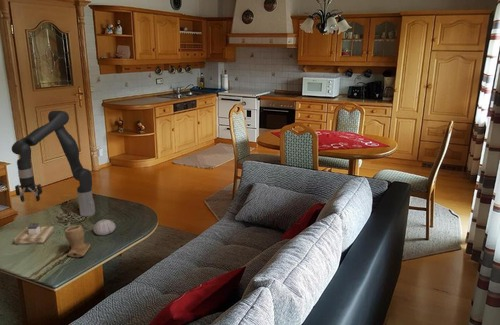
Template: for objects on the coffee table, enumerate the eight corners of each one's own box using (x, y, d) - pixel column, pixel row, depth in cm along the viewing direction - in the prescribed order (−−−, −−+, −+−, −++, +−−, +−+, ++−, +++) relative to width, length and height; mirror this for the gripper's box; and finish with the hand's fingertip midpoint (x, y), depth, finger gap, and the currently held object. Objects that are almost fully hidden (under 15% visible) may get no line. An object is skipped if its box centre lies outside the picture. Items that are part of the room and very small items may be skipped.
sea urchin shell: (92, 238, 249) (91, 225, 246) (94, 228, 261) (93, 217, 259) (115, 235, 252) (114, 223, 250) (116, 226, 265) (115, 215, 262)
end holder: (53, 232, 256) (53, 226, 255) (43, 244, 241) (42, 237, 240) (27, 233, 255) (26, 227, 254) (15, 244, 240) (14, 238, 239)
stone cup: (72, 246, 238) (68, 222, 234) (92, 245, 239) (89, 222, 235) (61, 259, 224) (58, 234, 219) (83, 258, 224) (80, 233, 220)
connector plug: (40, 235, 250) (38, 223, 248) (37, 238, 246) (35, 226, 244) (33, 235, 250) (31, 223, 248) (29, 238, 246) (27, 226, 243)
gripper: (41, 173, 245) (45, 198, 249) (16, 174, 243) (21, 199, 248) (35, 177, 237) (40, 203, 242) (10, 178, 236) (15, 204, 241)
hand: (30, 201), depth 245 cm, fingers open, 8 cm apart
